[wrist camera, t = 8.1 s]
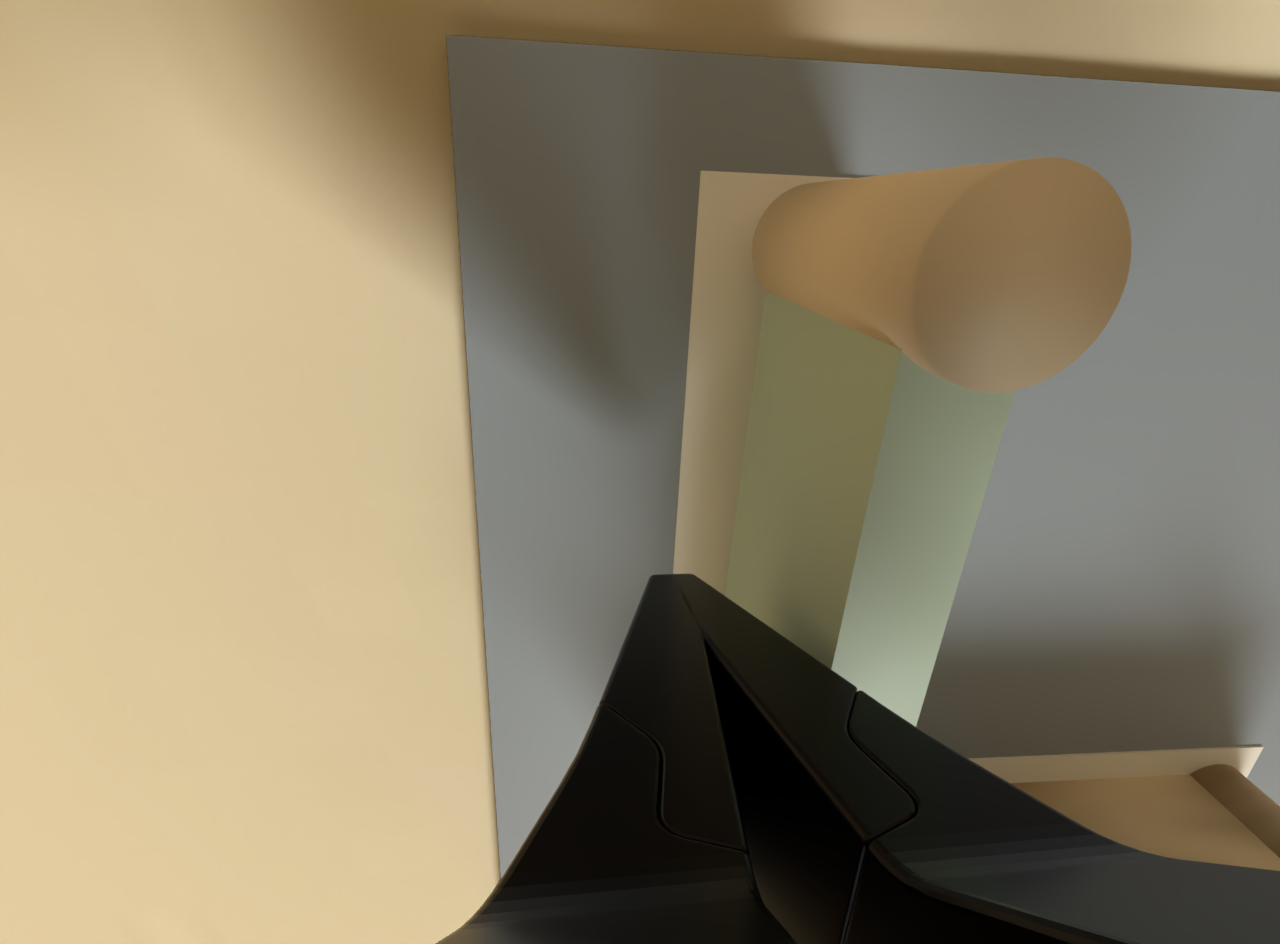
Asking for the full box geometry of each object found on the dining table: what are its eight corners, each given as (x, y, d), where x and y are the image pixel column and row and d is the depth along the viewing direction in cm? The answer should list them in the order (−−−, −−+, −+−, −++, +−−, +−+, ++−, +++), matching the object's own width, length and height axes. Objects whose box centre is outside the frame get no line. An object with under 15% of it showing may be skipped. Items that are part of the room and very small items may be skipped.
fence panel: (767, 779, 14) (859, 1062, 9) (686, 782, 14) (740, 1071, 9) (877, 187, 9) (1164, 167, 5) (760, 178, 9) (941, 148, 5)
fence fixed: (660, 845, 15) (704, 1186, 10) (666, 771, 14) (718, 1104, 9) (1210, 814, 17) (1506, 1099, 11) (1247, 745, 16) (1587, 1019, 10)
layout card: (448, 38, 9) (445, 33, 8) (1663, 120, 11) (1686, 118, 10) (505, 931, 16) (504, 941, 16) (1223, 882, 18) (1231, 891, 18)
